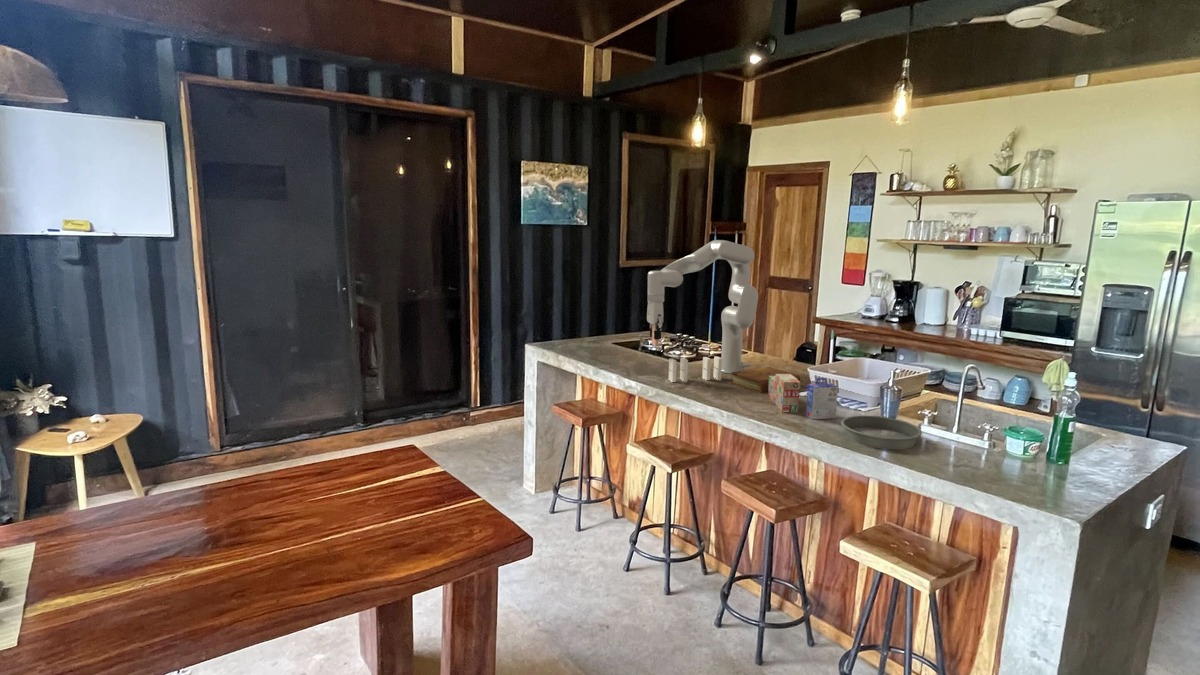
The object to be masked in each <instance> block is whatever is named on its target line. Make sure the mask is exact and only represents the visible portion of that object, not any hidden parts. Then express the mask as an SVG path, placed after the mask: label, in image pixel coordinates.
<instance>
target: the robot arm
mask: <svg viewBox="0 0 1200 675" xmlns="http://www.w3.org/2000/svg"><path fill="white" fill-rule="evenodd" d="M754 259H755V251H754V250H753V248H752V247H750V246H748V245H744V244H739V243H736V242H732V241H729V240H724V239H714V240H711V241H710V242H708V243H706V244H704V245H703V246H702V247H700V248H698V249H697V250H695V251H694V252H692V253H690V254H688V255H686V256H684V257H681V258H679V259H676V260H675V261H673V262H671V263H669V264H668V265H666V266H665V267H663V268H662V269H661V270H650V271H648V273H647V308H646V310H647V311H646V321H647V323H649V337H650V338H652V324H654V326H655V331H654V339H659V340H661V339H662V327H663V324H664V302H665V287H668V288H669V287H670V288H677V287H679V286H680V285H682V284H683V281H684V276H683V275H685V274H689V273H695V272H700V271H702V270H703V269H705V268H706V267H708V266H709V265H710V264H711V265H712V263H714V262H716V261H717V260H725V261H726V262H728V264H729V265H730V267H731V270H732V271H731V272H732V273H731V281H730V285H729V289H728V299H729V301H730V302H732V303H734V304H737V305H736V306H735V305H729V306H725V307H724V308H723V310H722V311H721V315H720V316H721V317H720V321H721V327H722V330H721V331H722V332H721V333H722V337H721V354H720V355H721V356H720V358H722V372H721V373H723V374H730V375H732V374H731V372H737V371H744V370H745V368H750V367H751V363H750V362H744V361H742V356H743V355H742V353H743V351H742V350H743V330H745V329H748V328H750V327H751V326H752V325H753V323H754V321H755V316H756V312H757V308H758V307H757V306H758V302H759V292H758V290H757V288H755V287H754V286H753V285H750V281H751V276H752V275H751V273H752V271H751V267H750V264H751V263H752V262H753V261H754ZM656 323H657V324H656ZM656 325H657V327H656Z"/></svg>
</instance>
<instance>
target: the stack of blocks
mask: <svg viewBox="0 0 1200 675" xmlns="http://www.w3.org/2000/svg"><path fill="white" fill-rule="evenodd" d="M768 390H769V391H768V392H767V395H768V399H769V400H770V399H771V400H772V401H773V402H774V403H775V404H776V405H777V406H778V407H777V406H776V405H775V404H774V403H773V402H772V401H771V400H770V401H771V402H772V403H773V404H774V405H775V406H776V407H777V409H778V408H779V409H780V410H781V411H782V412H781V411H780V410H779V409H778V410H779V411H780V412H781V413H784V412H783V411H789V412H790V413H792V412H798V413H799V406H800V405H799V403H800V402H799V401H800V395H801V394H800V393H801V391H800V390H801V380H800V381H799V380H798V379H797V378H795V377H794V376H793V375H791V374H775V376H769V388H768ZM789 412H788V413H789Z"/></svg>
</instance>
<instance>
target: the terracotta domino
mask: <svg viewBox="0 0 1200 675" xmlns="http://www.w3.org/2000/svg"><path fill="white" fill-rule="evenodd" d="M656 324H658V323H656ZM656 327H657V325H656ZM654 331H655V326H654V324H652V337H651V345H652V346H654V347H660V346H659V344H660V339H654Z"/></svg>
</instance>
